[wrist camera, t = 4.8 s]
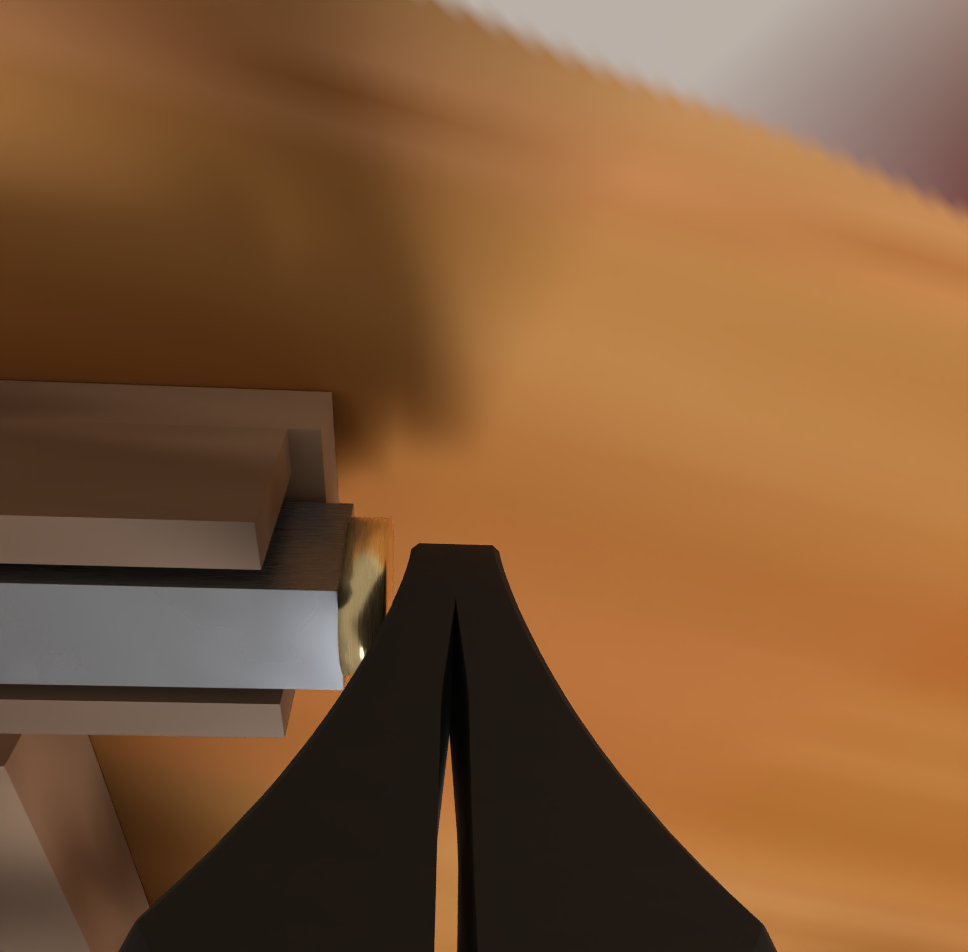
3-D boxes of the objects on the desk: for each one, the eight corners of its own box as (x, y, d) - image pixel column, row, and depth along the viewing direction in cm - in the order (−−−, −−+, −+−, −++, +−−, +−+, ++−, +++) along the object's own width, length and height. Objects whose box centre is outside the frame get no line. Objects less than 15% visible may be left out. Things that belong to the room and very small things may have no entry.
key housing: (343, 587, 15) (316, 738, 13) (-164, 575, 15) (-312, 728, 12) (331, 391, 13) (294, 523, 10) (-274, 370, 13) (-494, 501, 10)
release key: (394, 599, 14) (382, 710, 12) (-115, 586, 14) (-215, 699, 12) (392, 486, 13) (379, 591, 11) (-173, 470, 12) (-298, 575, 10)
